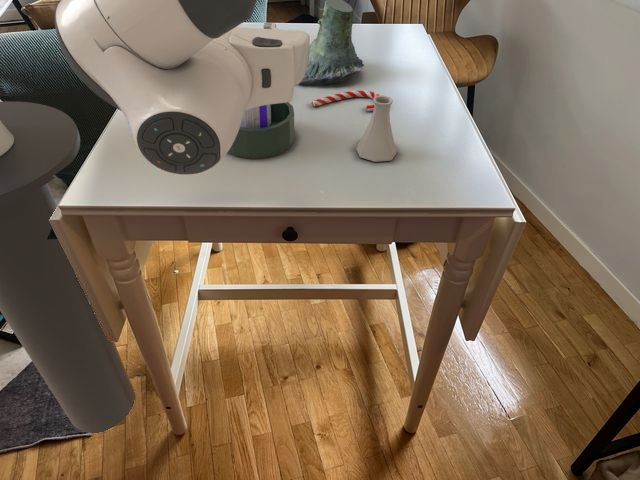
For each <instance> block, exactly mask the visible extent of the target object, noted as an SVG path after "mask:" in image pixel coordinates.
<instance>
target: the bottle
mask: <svg viewBox="0 0 640 480" xmlns="http://www.w3.org/2000/svg"><path fill="white" fill-rule="evenodd" d="M269 126H271V106H270V104H269V105H263V106H258V107H254V108H251V109H247V110H244V116H243V120H242V123H241V126H240V127H243V128H265V127H269Z"/></svg>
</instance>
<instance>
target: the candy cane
mask: <svg viewBox="0 0 640 480" xmlns="http://www.w3.org/2000/svg"><path fill="white" fill-rule="evenodd" d="M380 95H381V94H379V93H376V92H374V91H370V90H349V91H343V92H339V93H334V94H331V95H327V96H324V97H320V98H316V99H314V100H312V101H311V106H312V107H314V108H316V107H319V106H322V105H325V104H329V103H333V102H336V101H341V100H345V99H350V98H368V99H372V100H373V98H374V97H375V96H380ZM365 111H366V112H373V111H374V104H369V105H366V107H365Z"/></svg>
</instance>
